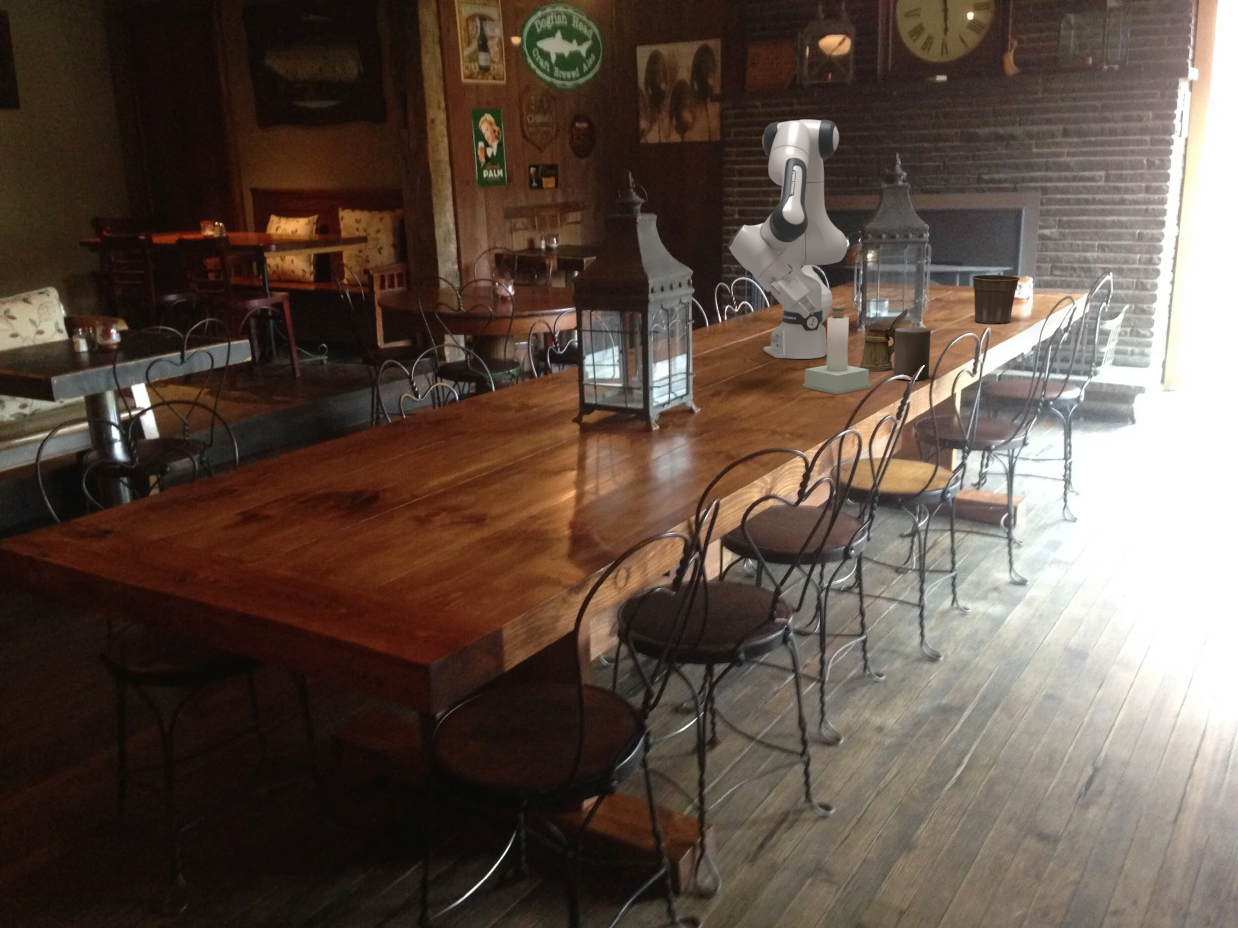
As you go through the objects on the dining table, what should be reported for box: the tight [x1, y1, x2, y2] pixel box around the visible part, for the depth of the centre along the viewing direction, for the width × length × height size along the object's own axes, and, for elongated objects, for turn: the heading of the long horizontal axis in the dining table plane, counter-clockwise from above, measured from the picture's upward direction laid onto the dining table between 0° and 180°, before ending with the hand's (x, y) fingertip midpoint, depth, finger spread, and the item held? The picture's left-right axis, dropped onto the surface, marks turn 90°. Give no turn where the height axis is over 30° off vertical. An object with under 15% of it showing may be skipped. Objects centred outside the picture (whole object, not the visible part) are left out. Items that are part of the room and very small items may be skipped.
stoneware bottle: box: [826, 305, 850, 371], centre depth 302 cm, size 6×6×17 cm
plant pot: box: [971, 274, 1021, 325], centre depth 403 cm, size 16×16×16 cm
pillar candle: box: [893, 324, 931, 381], centre depth 314 cm, size 10×10×15 cm
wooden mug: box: [859, 308, 909, 372], centre depth 326 cm, size 9×14×18 cm, turn 54°
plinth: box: [802, 364, 871, 395], centre depth 305 cm, size 13×13×5 cm
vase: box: [781, 265, 833, 324], centre depth 406 cm, size 18×18×30 cm
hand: (811, 313), depth 303 cm, fingers open, 8 cm apart
